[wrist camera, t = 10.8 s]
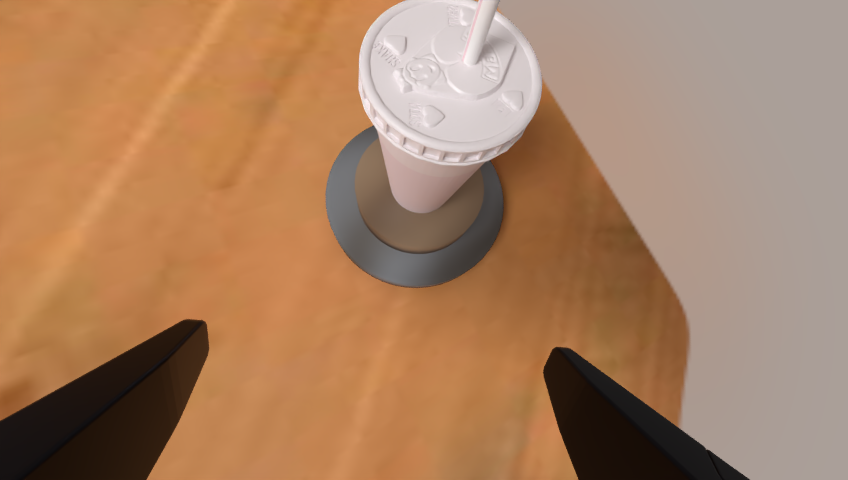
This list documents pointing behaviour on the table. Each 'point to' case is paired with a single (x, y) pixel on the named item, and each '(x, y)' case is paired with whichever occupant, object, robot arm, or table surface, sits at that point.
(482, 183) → the pedestal
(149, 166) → the table surface
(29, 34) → the table surface
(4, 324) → the table surface
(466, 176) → the white drink cup
